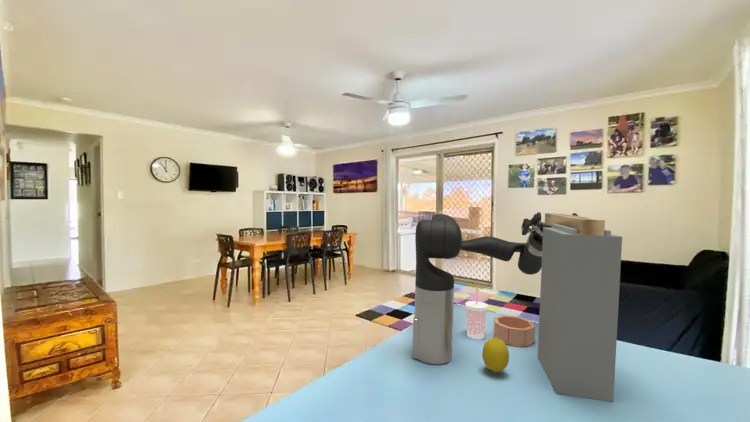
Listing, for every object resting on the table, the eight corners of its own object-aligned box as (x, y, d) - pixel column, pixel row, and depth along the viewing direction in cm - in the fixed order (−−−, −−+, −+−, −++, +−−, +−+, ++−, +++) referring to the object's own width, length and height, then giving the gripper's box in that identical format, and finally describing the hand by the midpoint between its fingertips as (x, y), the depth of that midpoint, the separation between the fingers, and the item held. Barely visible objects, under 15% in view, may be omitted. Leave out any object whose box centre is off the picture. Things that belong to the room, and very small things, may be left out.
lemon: (510, 380, 69) (512, 344, 69) (483, 377, 71) (484, 341, 70) (505, 367, 75) (507, 333, 74) (480, 364, 76) (481, 331, 76)
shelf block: (556, 393, 65) (563, 229, 64) (537, 357, 80) (543, 223, 78) (613, 401, 63) (622, 231, 61) (583, 363, 77) (590, 224, 76)
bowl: (496, 344, 87) (496, 327, 87) (491, 329, 96) (492, 314, 96) (537, 349, 84) (537, 331, 84) (528, 333, 94) (529, 317, 94)
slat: (580, 234, 63) (581, 219, 63) (544, 224, 88) (545, 213, 88) (604, 235, 62) (604, 220, 62) (560, 224, 87) (561, 213, 87)
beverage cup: (480, 330, 95) (482, 283, 95) (491, 340, 89) (492, 289, 89) (460, 331, 94) (462, 283, 94) (469, 341, 88) (471, 290, 88)
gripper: (515, 227, 101) (526, 202, 87) (566, 229, 98) (586, 203, 84) (517, 250, 98) (528, 227, 84) (570, 253, 95) (591, 230, 81)
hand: (557, 215), depth 84 cm, fingers open, 8 cm apart
